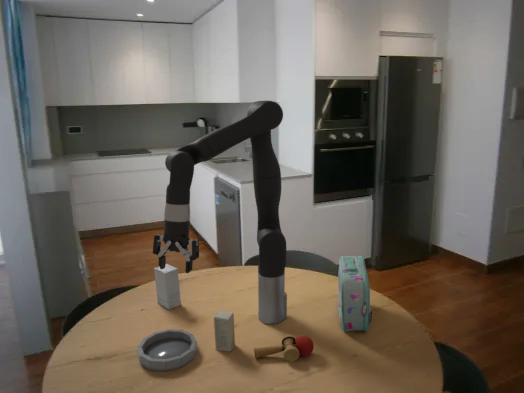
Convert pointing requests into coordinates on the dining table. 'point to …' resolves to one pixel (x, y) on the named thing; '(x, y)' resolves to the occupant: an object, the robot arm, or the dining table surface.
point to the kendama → (288, 348)
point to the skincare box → (167, 286)
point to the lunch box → (353, 294)
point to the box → (224, 331)
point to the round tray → (167, 350)
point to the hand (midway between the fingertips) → (175, 270)
